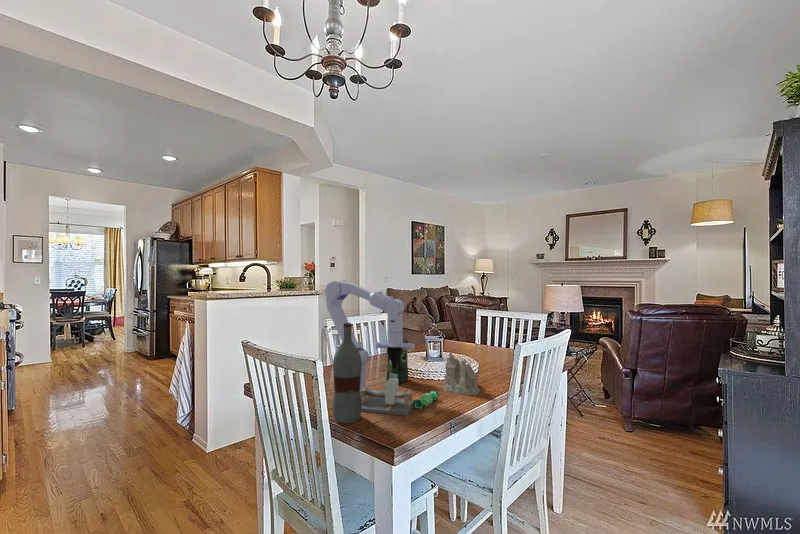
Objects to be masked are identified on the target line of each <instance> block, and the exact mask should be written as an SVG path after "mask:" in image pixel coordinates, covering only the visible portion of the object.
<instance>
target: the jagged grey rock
mask: <svg viewBox="0 0 800 534" xmlns="http://www.w3.org/2000/svg"><path fill="white" fill-rule="evenodd" d="M466 363H467V362H466V360H464V359H461V361H460V360H459V358H455V355H453V353H452V351H451V352H449V355H448V357H447V358H446V363H445V367H444V369H445V375H444V382H443V387H442V389H443V390H444V391H446V392H449V393H453V394H457V395H460V396H466V395H467V396H470V395H473V396H476V394H477V395H479V394H480V392H481V389H480V388H479V387H478V383H479V381H478V379H479V376H478V375H477V372H475V371H474V369H473V368H472V366H471V365H470V363H467V364H466ZM467 396H466V397H467Z"/></svg>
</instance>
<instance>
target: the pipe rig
mask: <svg viewBox="0 0 800 534" xmlns="http://www.w3.org/2000/svg"><path fill="white" fill-rule="evenodd" d="M368 387H369V386H366V387H363V388H362V389H361V390H360V394H361V402H362V408H361V412H364V413H373V414H375V413H376V414H388V415H396V416H397V415H398V416H406V415H407V416H409V414H410V412H411V411H412V409H413V408H414V406H413V402H414V400H415V399H413V390H411V389H407V390H406V392H402V391H398V392H395V397H398V400H397V401H396V402H395V403H394V404H385V390H379V389H368Z"/></svg>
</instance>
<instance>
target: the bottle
mask: <svg viewBox="0 0 800 534" xmlns="http://www.w3.org/2000/svg"><path fill="white" fill-rule="evenodd" d="M343 325H344V333H343V342H342V341H341V343H340V345H339V347H338V348H337V350H336V351H335V353H334V355H333V356H334V357H333V360H332V361H333V363H332V373H333V374H332V375H333V387H334V392H333V400H332V414H333V418H334V421H335V422H336V423H337V424H338V423H340V424H352V423H355V422H358V421H359V420H360V418H361V414H362V411H361V408H362V402H361V394H360V381H361V369H362V362H361V356H360V353H359V351H358V350H357V348H356V347H355V345H354V343H353V342H352V337H351V329H352V323H351V322H349V323H344V324H343Z"/></svg>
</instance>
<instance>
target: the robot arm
mask: <svg viewBox="0 0 800 534" xmlns="http://www.w3.org/2000/svg"><path fill="white" fill-rule="evenodd" d="M324 293H325V296H326V300H325V302H326V308H327V311H328V312H329V315H330V317H331V320H332V323H333V325H334V326H335V330H336V332H337V334H338V337H339V339H340V340H341V343H342V342H343V333H344V325H343V324H344V323H350V322H349V320H348V318H347V316H346V313H345V311H344V309H343V307H342V305H343V303H344V302H345V301H344V300H345V299H346V298H347V297H348V296H349V295H350V294H351V295H354V296H356V297H359V298H362V299H364V300H367V301H368V302H369V305H370V306H372V307H375V308H377V309H379V310H380V311H383V312H385V314H386V315H387V318H386V319H387V320H386V322H387V325H386V326H387V327H386V328H387V330H386V331H387V333H386V334H387V338H386V339H387V340H386V341H381V342H380V341H377V342H375V348H376V349H386V353H388V355H389V357H390V360H391V363H392V368H393V369H396V368H397V366H398V361H399V358H400V355H401V353H402V351H403V349H408V350H410V351H413V350H415V343H411V342H410V343H409V342H408V343H403V337H404V336H403V331H404V330H403V327H404V326H403V313H404V312H405V307H406V306H405V303H404V302H403V300H401V299H400V298H395V299H394V296H392V295H391V296H388V295H386V294H384V293H383V291H381V290H379V291H373V292H372V291H370V290H367V289H366V288H364V287H361V286H359V285H357V284H355V283H354V282H351V281H348V280H330V281H329V282H327V284H326V286H325V289H324ZM351 337H352V342H353V343H354V345H355V347H356V348H357V350H358V351H359V353H360V356H361V362H362V369H361V381H360V390H361V389H362V388H363V387H368V390H370V387H369V386H367V363H368V362H369V357H370V356H369V353H368V351H367V350H366V349H365V348H364V346H363V345H362V343H360V342H359V341H358V340H357V338H356V336H355V333H354V332H353V329H352V328H351ZM387 348H388V349H387Z"/></svg>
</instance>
